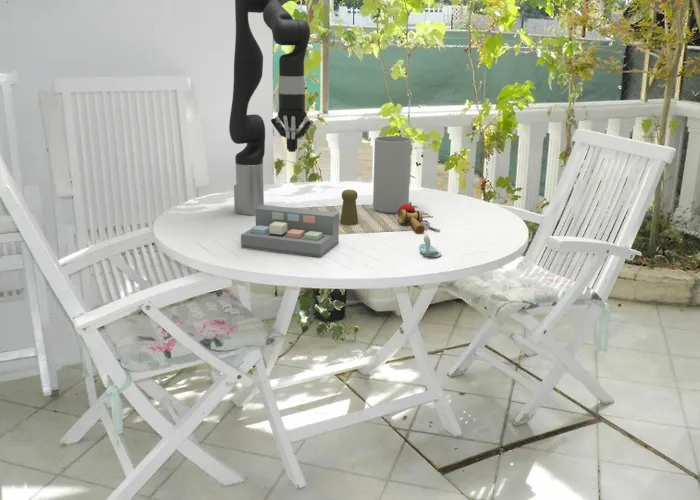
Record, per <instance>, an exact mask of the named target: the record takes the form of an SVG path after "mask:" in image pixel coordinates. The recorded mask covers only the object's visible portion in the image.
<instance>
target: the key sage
mask: <svg viewBox="0 0 700 500" xmlns="http://www.w3.org/2000/svg"><path fill="white" fill-rule="evenodd" d="M321 239H322V232H314V231H309V232H307V233H306V234H304V240H312V241H319V240H321Z"/></svg>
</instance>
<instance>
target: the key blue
mask: <svg viewBox="0 0 700 500" xmlns="http://www.w3.org/2000/svg"><path fill="white" fill-rule="evenodd" d="M255 226H256V225H255ZM255 226H254V228H253V227H252V228H253V229H252V228H251V229H252V234H261V235H266V234H267V233H269V226H260V225H258V226H256V227H255Z"/></svg>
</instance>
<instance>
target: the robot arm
mask: <svg viewBox="0 0 700 500" xmlns="http://www.w3.org/2000/svg"><path fill="white" fill-rule="evenodd" d="M234 7H235V8H234V10H235V11H234V12H235V13H234V14H235V42H234V44H235V45H234V57H233V61H234V62H233V86H232V87H233V88H232V89H233V90H232V99H231V100H232V101H231V107H230V115H229V127H228V130H229V136H230V139H231V141H232V142H233V143H234V144H236V145H241V144H242V145H243V144H246V145H245V147H244V148H243V149H242V150H241V151H239V152H237V153H236V154H235V157H234V158H235V159H234V160H235V162H234V163H235V184H234V185H233V200H234V201H233V204H234V208H233V209H234V213H235V214H236V213H237V214H240V215H243V216H244V215H245V216H255V208H257V207H259V206H261V205H265V204H264V203H265V201H264V200H265V197H264V196H265V195H264V156H265V153H266V152H265V150H266V149H265V148H266V125H265V122H264V120H263V118H262V116H261V115H260V114H248V108H249V104H250V101H251V99H252V97H253V95H254V93H255V91H256V89H257V88H258V86H259V85H260V82H261V80H262V77H263V69H264V55H263V52H262V49H261V48H260V45H259V44H258V42H257V40H256V39H255V37H254V34H253V32H252V29H251V26H250V22H249V13H258V14H262V17H263V18H262V19H263V22H264V24H265V25H266V26H267V27H268V29H270V31H271V33H272V38H273V41H274V42H275V43H276V44H277V45H280V46H294V48H293V49H292V51H291V52H289V53H285V54H282V55H280V56H279V60H278V61H279V62H278V66H279V67H278V68H279V70H278V71H279V73H278V74H279V75H278V76H279V79H278V112H277V115H276V116H275V117H274V118H272V119H270V122H271V124H272V125H273V127H274V128H275V129H276V131H277V132H278V134H279V136H281V137H283V138H285V139H286V150H288V153H289V152H290V153H295V152H296V151H297V150H298V139H299V138H301V137H304V136H305V135H306V133H307V132H308V131H309V129H310V128H311V126H313V124H314V121H313V120H312V119H310V118H308V117H307V113H306V110H305V108H306V102H305V100H306V94H305V93H306V85H305V68H304V67H305V56H306V53H307V49H308V44H309V42H310V38H311V37H310V36H311V29H310V25H309V23H308V22H307V21H306V20H305V19H294V18H293V16H292V15H291V13H290V12H289V11H287V10H286V9H285V8H284V7H283V6H282V5H281V3H280V0H234ZM302 125H303V126H302ZM300 126H302V127H301V128H300Z"/></svg>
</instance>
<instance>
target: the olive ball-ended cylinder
mask: <svg viewBox="0 0 700 500" xmlns="http://www.w3.org/2000/svg"><path fill="white" fill-rule="evenodd" d="M341 198H342V200H343V202H342V206H341V215H340V219H339V224H341V225H344V226H355V225H358V224H359V218H358V209H357V199H358V192H357V191H356V190H355V189H345V190H343V191H342V192H341Z"/></svg>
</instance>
